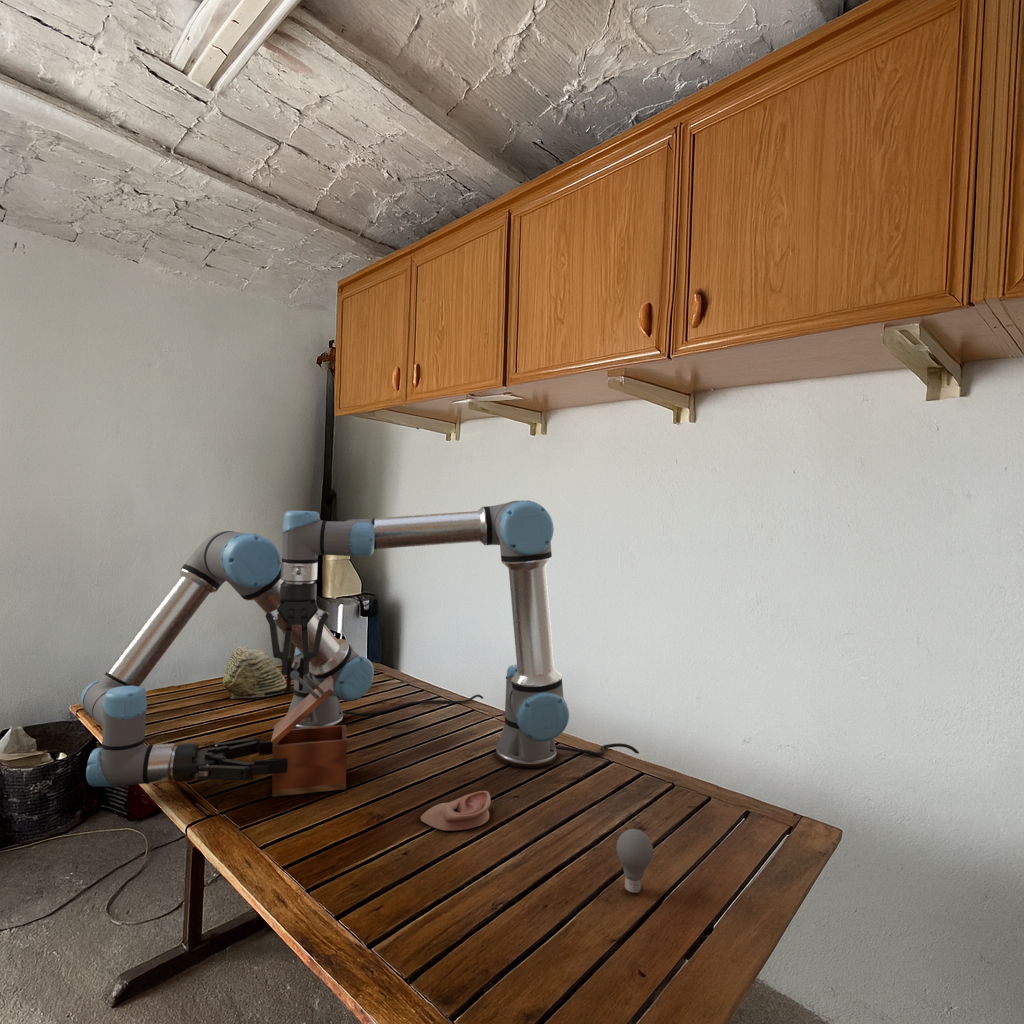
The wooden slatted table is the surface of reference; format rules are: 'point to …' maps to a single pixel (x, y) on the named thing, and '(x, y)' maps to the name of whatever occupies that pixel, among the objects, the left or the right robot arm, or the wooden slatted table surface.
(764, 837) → the wooden slatted table surface
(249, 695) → the fossil
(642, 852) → the light bulb
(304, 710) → the lid
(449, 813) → the anatomical model
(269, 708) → the wooden slatted table surface
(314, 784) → the chest
